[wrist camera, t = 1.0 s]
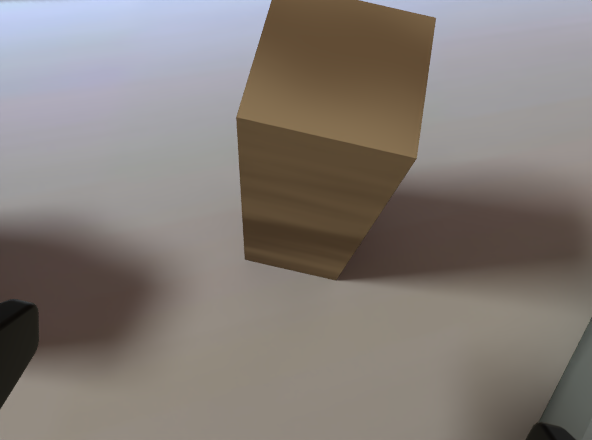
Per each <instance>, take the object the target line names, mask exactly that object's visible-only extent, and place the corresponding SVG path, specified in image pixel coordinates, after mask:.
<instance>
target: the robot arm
mask: <svg viewBox="0 0 592 440" xmlns="http://www.w3.org/2000/svg"><path fill="white" fill-rule="evenodd" d="M38 342H39V316H38V308H37V306H36V305H35V304H34V303H30V302H26V301H22V300H18V299H11V300H7V301H5V302H2V303H0V409H1V407H2V406H3V404H4V403H5V401H6V399H7V398H8V396H9V395H10V393H11V391H12V390H13V388H14V386H15V385H16V383H17V382H18V380H19V378H20V377H21V375H22V374H23V372H24V370H25V369H26V367H27V365H28V364H29V362H30V361H31V359H32V357H33V356H34V354H35V352H36V350H37V347H38ZM526 440H576V439H575V438H574V437H573V436H572V435H571V434H570V433H568V432H567V431H566V430H565V429H564V428H562V427H560V426H557V425H553V424H549V423H544V422H538V423H536V424H535V425H534V426H533V427H532V429H531V431H530V433H529V434H528V436H527V438H526Z"/></svg>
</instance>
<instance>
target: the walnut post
mask: <svg viewBox="0 0 592 440" xmlns="http://www.w3.org/2000/svg"><path fill="white" fill-rule="evenodd" d="M435 21H436V18H434V17H430V16H425V15H421V14H416V13H412V12H408V11H403V10H399V9H395V8H390V7H386V6H381V5H377V4H373V3H368V2H364V1H360V0H272V1H271V4H270V8H269V11H268V14H267V18H266V21H265V24H264V27H263V31H262V34H261V37H260V41H259V44H258V47H257V51H256V54H255V57H254V60H253V64H252V67H251V70H250V74H249V77H248V80H247V84H246V87H245V90H244V93H243V97H242V100H241V103H240V107H239V110H238V113H237V117H236V120H237V137H238V153H239V170H240V186H241V203H242V220H243V236H244V253H245V260H249V261H253V262H258V263H262V264H267V265H271V266H275V267H280V268H284V269H288V270H293V271H297V272H302V273H306V274H310V275H315V276H319V277H323V278H328V279H332V280H337V278H338V277H339V275H340V274H341V272H342V271H343V269H344V267H345V266H346V264H347V263H348V261H349V260H350V258H351V257H352V255H353V254H354V252H355V251H356V249H357V248H358V246H359V245H360V243H361V242H362V240H363V239H364V237H365V236H366V234H367V233H368V231H369V230H370V228H371V227H372V225H373V224H374V222H375V221H376V219H377V218H378V216H379V215H380V213H381V212H382V210H383V209H384V207H385V205H386V204H387V202H388V201H389V199H390V198H391V196H392V195H393V193H394V192H395V190H396V189H397V187H398V186H399V184H400V183H401V181H402V180H403V178H404V177H405V175H406V174H407V172H408V171H409V169H410V168H411V166H412V165H413V163H414V162H415V160H416V159H417V152H418V145H419V138H420V130H421V123H422V116H423V108H424V101H425V94H426V87H427V79H428V72H429V65H430V58H431V50H432V43H433V36H434V28H435Z"/></svg>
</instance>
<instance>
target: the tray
mask: <svg viewBox="0 0 592 440" xmlns="http://www.w3.org/2000/svg"><path fill="white" fill-rule="evenodd" d="M539 422H544V423H549V424H553V425H557V426H560V427H562V428H564V429H565V430H566V431H567V432H568V433H570V434H571V435H572V436H573V437H574V438H575V439H576V440H592V318H591V320H590V322H589V324H588V326H587V328H586V330H585V332H584V334H583V336H582V338H581V340H580V342H579V344H578V346H577V348H576V350H575V352H574V354H573V356H572V358H571V360H570V362H569V364H568V366H567V368H566V370H565V372H564V373H563V375H562V377H561V379H560V381H559V383H558V385H557V387H556V389H555V391H554V393H553V395H552V397H551V399H550V401H549V403H548V405H547V407H546V409H545V411H544V413H543V415H542V417H541V419H540V421H539Z"/></svg>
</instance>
